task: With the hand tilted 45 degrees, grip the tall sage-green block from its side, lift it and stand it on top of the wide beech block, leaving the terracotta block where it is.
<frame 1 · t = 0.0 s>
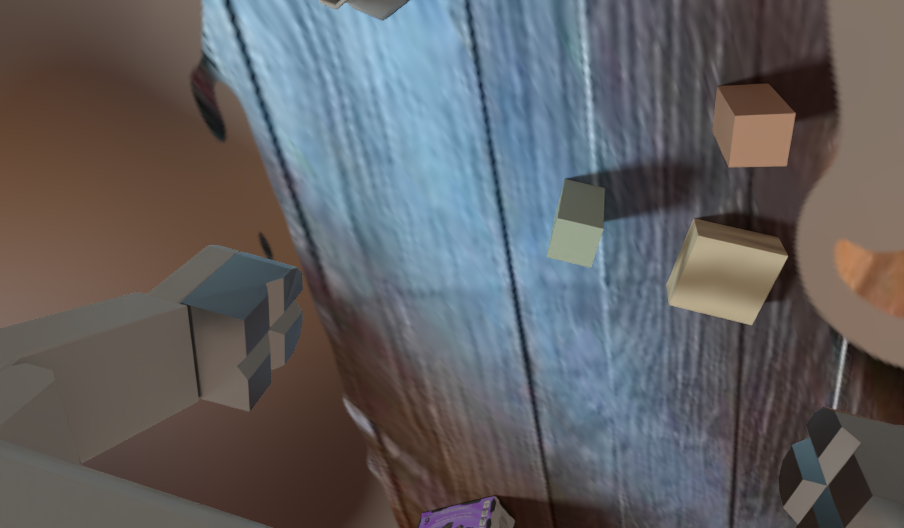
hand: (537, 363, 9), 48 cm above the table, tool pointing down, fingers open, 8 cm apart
terracotta block: (739, 108, 51), on the table
beech block: (719, 261, 59), on the table
sage block: (579, 201, 59), on the table
candy box: (467, 514, 88), on the table
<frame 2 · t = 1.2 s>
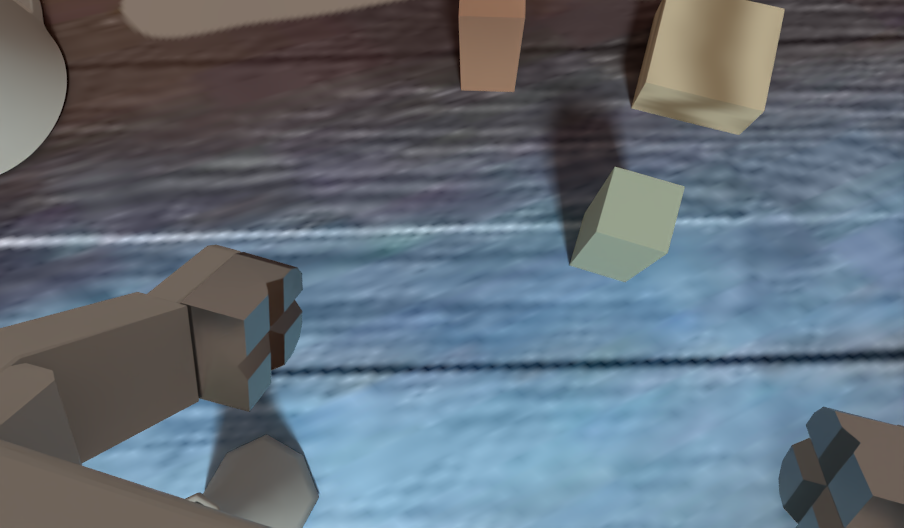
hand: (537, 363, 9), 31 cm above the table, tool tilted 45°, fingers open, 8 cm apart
terracotta block: (488, 67, 44), on the table
beech block: (694, 75, 44), on the table
sage block: (604, 247, 41), on the table
flask: (263, 493, 39), on the table
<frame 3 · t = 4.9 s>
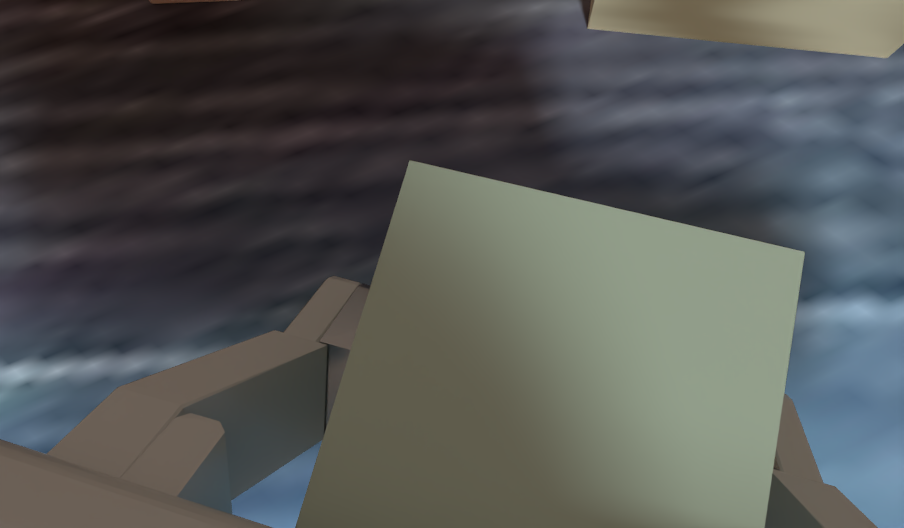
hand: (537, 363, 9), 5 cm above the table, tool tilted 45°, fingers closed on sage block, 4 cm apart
sage block: (515, 404, 14), on the table, touching gripper
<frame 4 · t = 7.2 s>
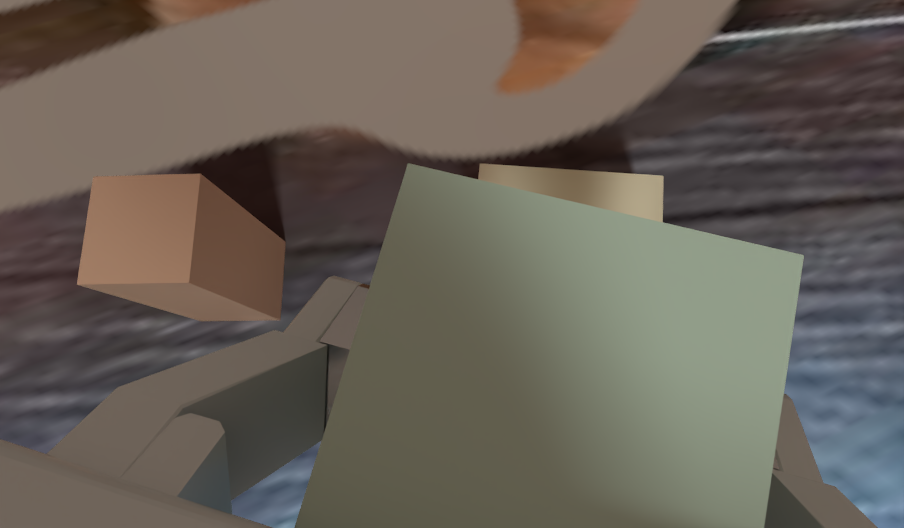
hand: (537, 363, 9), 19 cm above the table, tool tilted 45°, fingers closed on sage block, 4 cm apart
terracotta block: (243, 281, 29), on the table
beech block: (555, 277, 29), on the table
sage block: (514, 406, 14), point 13 cm above the table, touching gripper
when the fingers open (11 cm above the table, at t = 9.6 s): sage block drops 2 cm, resting on beech block.
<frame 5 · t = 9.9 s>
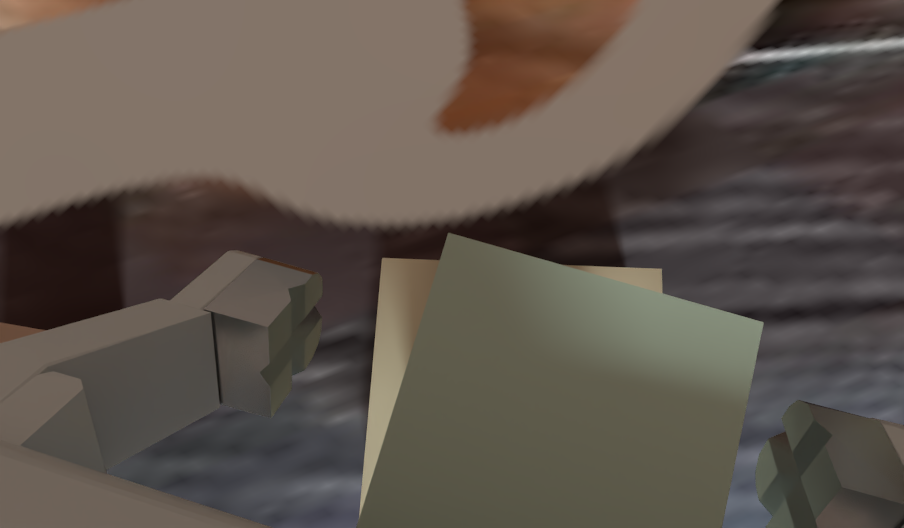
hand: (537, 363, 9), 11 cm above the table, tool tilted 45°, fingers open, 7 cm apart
terracotta block: (63, 401, 20), on the table
beech block: (510, 406, 20), on the table, touching sage block
sage block: (511, 404, 16), point 4 cm above the table, touching beech block
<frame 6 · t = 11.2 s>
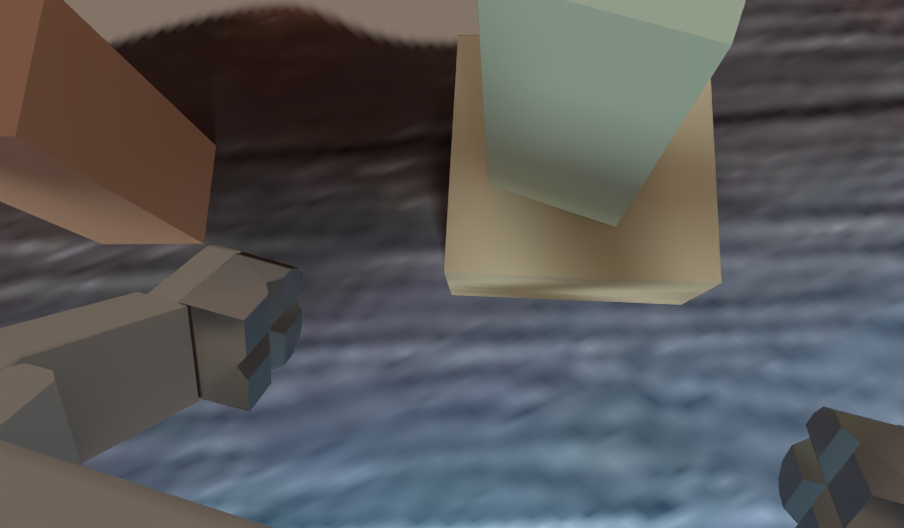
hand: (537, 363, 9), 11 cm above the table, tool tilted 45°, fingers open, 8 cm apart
terracotta block: (160, 194, 23), on the table
beech block: (564, 195, 22), on the table
sage block: (571, 147, 18), point 4 cm above the table
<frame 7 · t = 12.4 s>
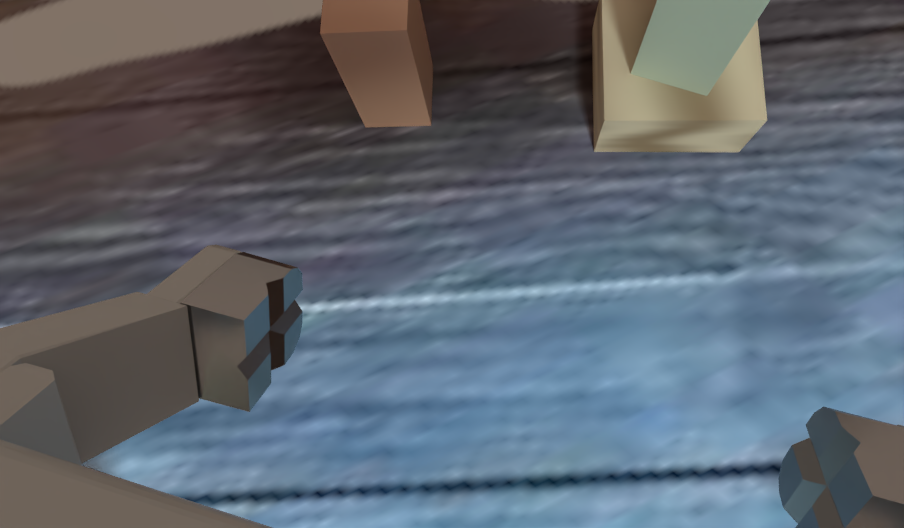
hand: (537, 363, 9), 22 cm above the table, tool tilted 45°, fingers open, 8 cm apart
terracotta block: (399, 96, 36), on the table
beech block: (661, 92, 35), on the table
sage block: (680, 51, 31), point 4 cm above the table
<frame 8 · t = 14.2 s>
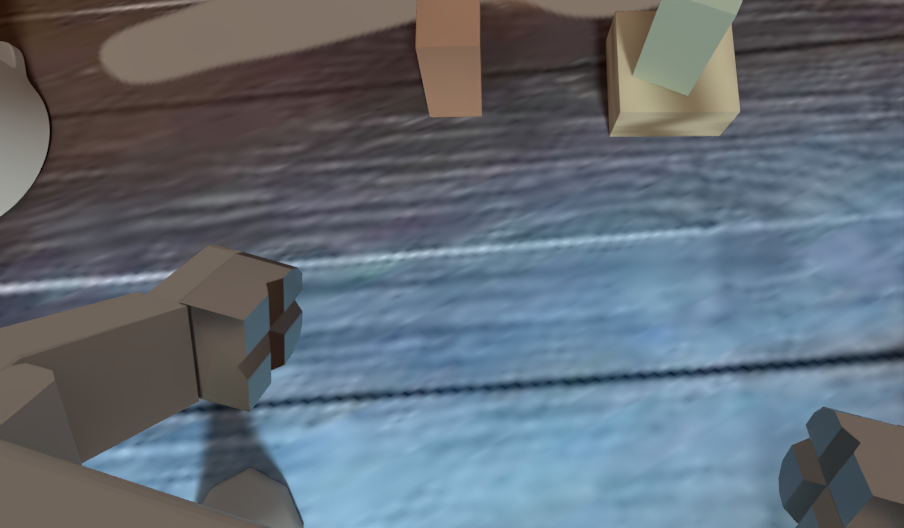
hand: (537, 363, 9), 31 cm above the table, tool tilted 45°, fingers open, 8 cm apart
terracotta block: (456, 93, 45), on the table
beech block: (659, 90, 45), on the table
sage block: (670, 61, 41), point 4 cm above the table
flask: (249, 527, 39), on the table
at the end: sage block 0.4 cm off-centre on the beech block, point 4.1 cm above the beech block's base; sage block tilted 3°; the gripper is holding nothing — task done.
